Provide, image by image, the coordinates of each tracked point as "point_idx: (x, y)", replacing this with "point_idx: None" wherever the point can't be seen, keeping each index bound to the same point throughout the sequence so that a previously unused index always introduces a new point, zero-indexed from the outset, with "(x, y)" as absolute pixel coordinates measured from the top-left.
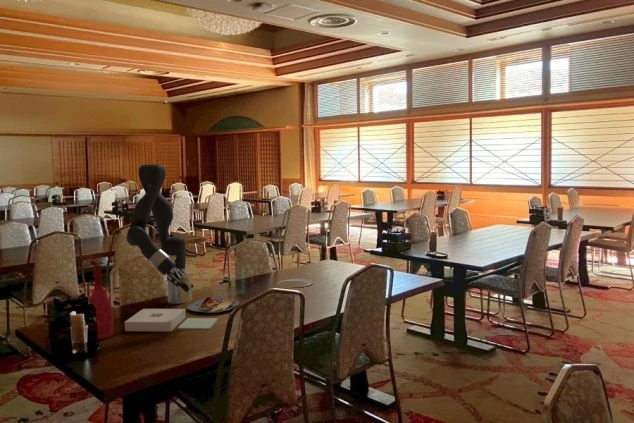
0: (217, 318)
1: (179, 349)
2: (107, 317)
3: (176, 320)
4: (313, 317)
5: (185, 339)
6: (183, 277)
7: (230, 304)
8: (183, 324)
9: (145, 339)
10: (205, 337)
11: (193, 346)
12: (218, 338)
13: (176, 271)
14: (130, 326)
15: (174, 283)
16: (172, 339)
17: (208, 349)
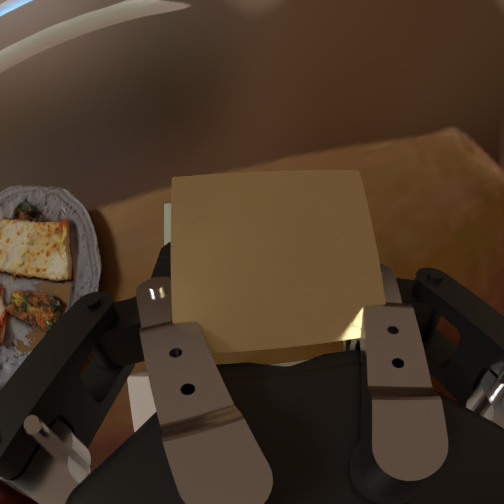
0: (167, 205)
1: (484, 228)
2: None
3: (281, 365)
4: (160, 9)
5: (423, 245)
6: (374, 248)
7: (6, 220)
8: None
9: (446, 392)
10: (387, 183)
11: (458, 197)
12: (382, 143)
13: (410, 428)
14: None
15: (451, 346)
16: None
17: (456, 153)
